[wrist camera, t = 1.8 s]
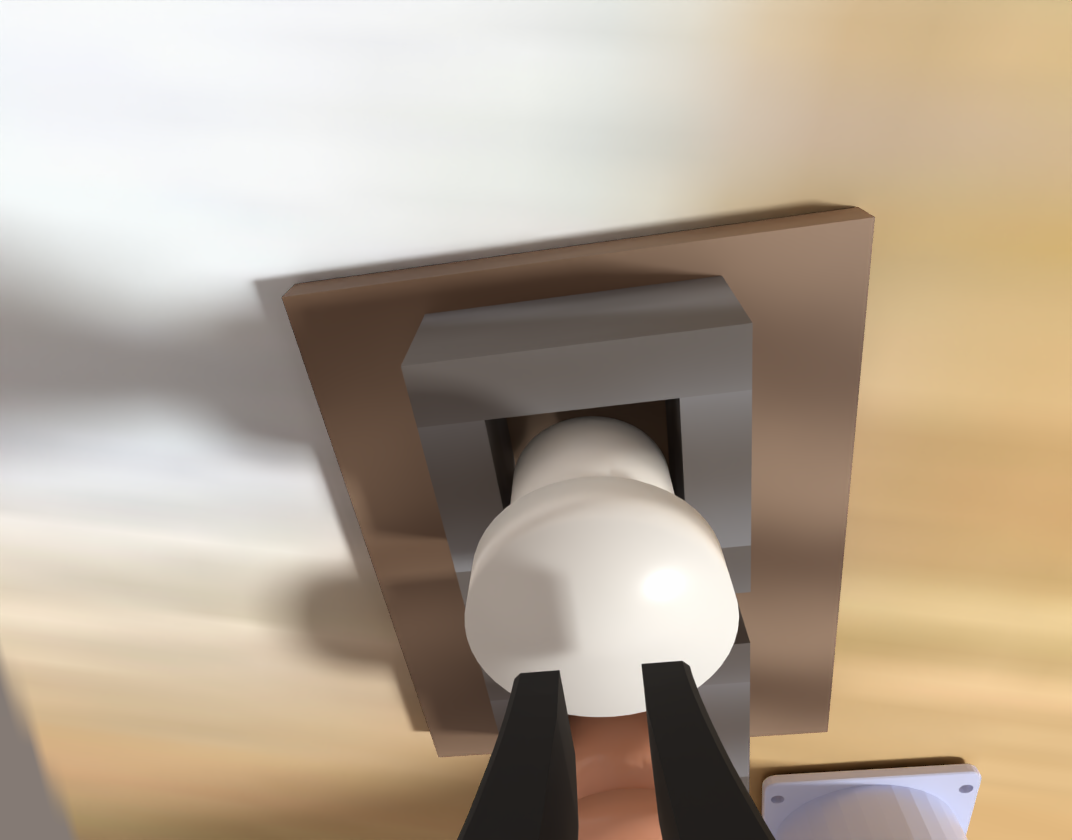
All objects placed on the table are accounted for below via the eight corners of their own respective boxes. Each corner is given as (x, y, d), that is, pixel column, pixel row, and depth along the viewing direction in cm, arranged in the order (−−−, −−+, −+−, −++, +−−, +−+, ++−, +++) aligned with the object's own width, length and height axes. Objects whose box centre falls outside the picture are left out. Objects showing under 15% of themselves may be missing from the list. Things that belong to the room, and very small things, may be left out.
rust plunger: (707, 778, 21) (740, 943, 18) (553, 788, 22) (552, 949, 18) (703, 671, 19) (739, 834, 15) (530, 684, 19) (523, 845, 16)
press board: (818, 707, 25) (859, 816, 22) (442, 733, 27) (425, 839, 23) (858, 207, 16) (937, 255, 13) (294, 283, 18) (230, 346, 14)
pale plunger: (698, 554, 17) (739, 707, 13) (505, 571, 17) (490, 724, 14) (691, 379, 15) (738, 504, 11) (469, 405, 15) (438, 534, 11)
